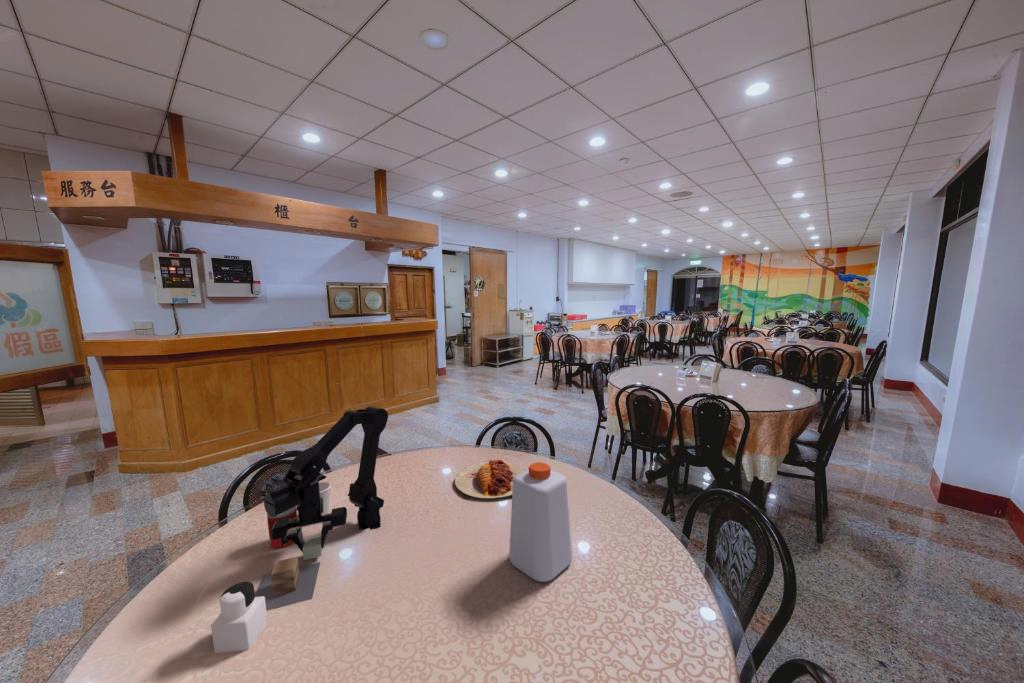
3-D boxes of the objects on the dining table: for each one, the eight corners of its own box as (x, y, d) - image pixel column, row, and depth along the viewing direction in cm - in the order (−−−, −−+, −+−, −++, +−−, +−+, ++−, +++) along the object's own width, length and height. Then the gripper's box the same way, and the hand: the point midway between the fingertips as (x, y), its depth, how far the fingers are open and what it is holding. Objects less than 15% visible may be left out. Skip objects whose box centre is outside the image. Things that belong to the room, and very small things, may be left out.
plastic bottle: (538, 536, 115) (537, 450, 112) (578, 560, 104) (578, 465, 101) (503, 561, 104) (500, 467, 101) (543, 590, 93) (542, 485, 90)
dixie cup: (337, 508, 133) (335, 481, 132) (323, 521, 125) (321, 494, 124) (316, 507, 134) (313, 481, 133) (300, 520, 126) (298, 493, 125)
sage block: (323, 546, 110) (322, 535, 109) (321, 555, 105) (320, 544, 105) (306, 550, 108) (305, 539, 108) (303, 560, 104) (302, 548, 103)
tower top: (298, 566, 99) (297, 556, 98) (294, 580, 94) (293, 569, 94) (276, 571, 97) (275, 561, 97) (271, 585, 92) (270, 574, 92)
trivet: (320, 563, 105) (320, 561, 105) (312, 600, 92) (312, 598, 92) (263, 577, 100) (263, 575, 100) (246, 618, 87) (245, 616, 87)
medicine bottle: (236, 626, 85) (230, 578, 84) (268, 623, 86) (263, 576, 84) (213, 655, 78) (207, 604, 77) (249, 652, 79) (243, 601, 77)
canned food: (286, 551, 110) (282, 517, 109) (263, 548, 112) (260, 514, 111) (305, 535, 118) (302, 503, 117) (283, 533, 119) (280, 501, 118)
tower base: (299, 577, 99) (298, 566, 99) (295, 590, 94) (294, 580, 94) (278, 582, 97) (276, 571, 97) (272, 596, 93) (271, 585, 92)
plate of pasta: (543, 499, 135) (542, 481, 135) (449, 504, 136) (447, 486, 135) (538, 464, 166) (537, 449, 166) (461, 468, 167) (460, 453, 166)
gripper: (346, 480, 115) (350, 526, 117) (278, 491, 109) (283, 540, 111) (343, 497, 105) (347, 548, 107) (267, 511, 99) (273, 565, 101)
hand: (313, 549), depth 107 cm, fingers closed on sage block, 4 cm apart
